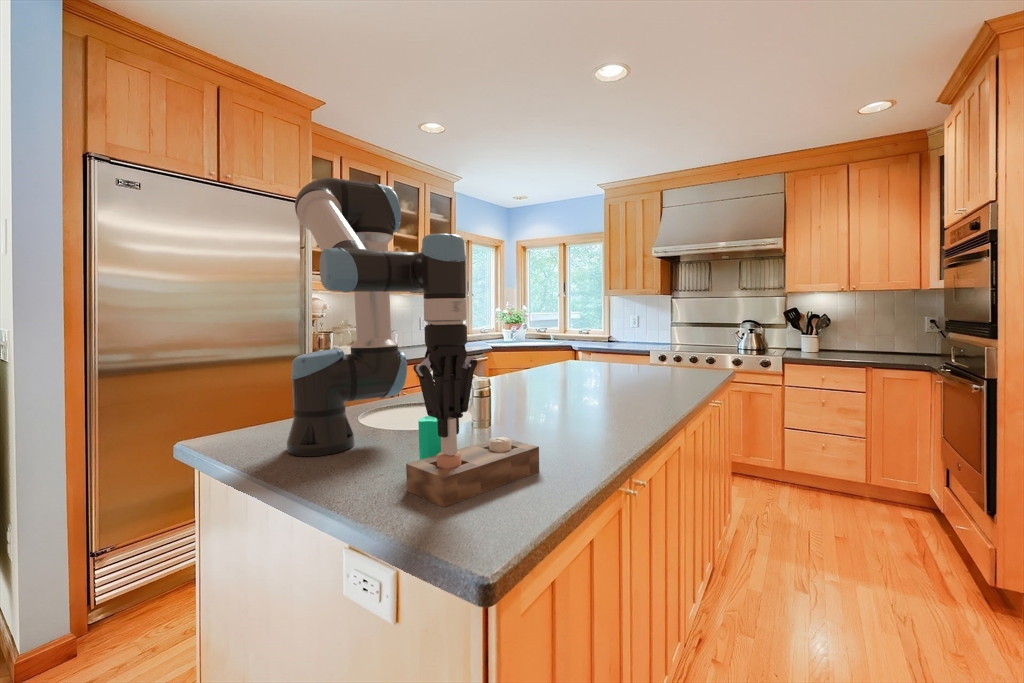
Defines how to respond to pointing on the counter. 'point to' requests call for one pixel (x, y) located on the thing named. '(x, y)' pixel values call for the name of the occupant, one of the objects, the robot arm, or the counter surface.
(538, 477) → the counter surface
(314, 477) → the counter surface
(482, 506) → the counter surface
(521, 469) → the mount
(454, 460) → the knob near
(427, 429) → the candle
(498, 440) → the knob far
